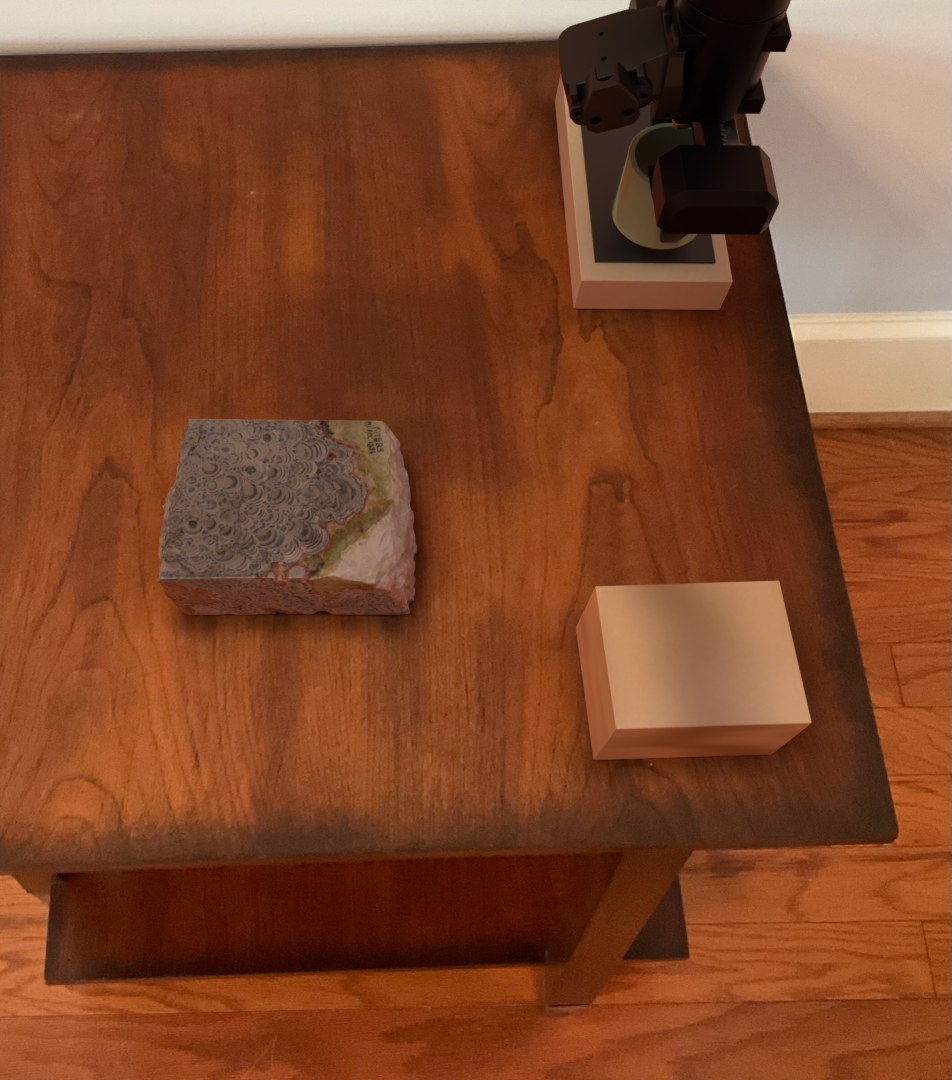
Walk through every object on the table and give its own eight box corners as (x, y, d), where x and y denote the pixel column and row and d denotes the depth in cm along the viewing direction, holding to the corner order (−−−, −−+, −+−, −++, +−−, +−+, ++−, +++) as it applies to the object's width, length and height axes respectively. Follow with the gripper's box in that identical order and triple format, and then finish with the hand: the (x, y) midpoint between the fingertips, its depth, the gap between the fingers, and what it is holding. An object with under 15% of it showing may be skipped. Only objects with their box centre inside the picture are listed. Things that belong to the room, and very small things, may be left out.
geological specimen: (164, 417, 65) (415, 410, 64) (184, 470, 70) (415, 465, 69) (147, 576, 60) (418, 572, 59) (169, 621, 65) (419, 618, 64)
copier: (554, 101, 83) (562, 62, 80) (685, 102, 83) (698, 62, 80) (573, 309, 75) (582, 274, 71) (719, 310, 74) (736, 275, 71)
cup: (671, 170, 73) (691, 110, 69) (721, 231, 71) (745, 173, 66) (594, 198, 72) (610, 139, 68) (642, 261, 70) (661, 205, 65)
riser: (744, 621, 64) (779, 580, 59) (772, 754, 60) (812, 723, 55) (575, 627, 64) (595, 585, 59) (593, 760, 61) (616, 729, 55)
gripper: (569, -123, 61) (530, 101, 75) (596, 114, 53) (547, 316, 67) (768, -123, 61) (692, 102, 75) (827, 115, 53) (729, 318, 67)
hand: (662, 203), depth 71 cm, fingers closed on cup, 6 cm apart
